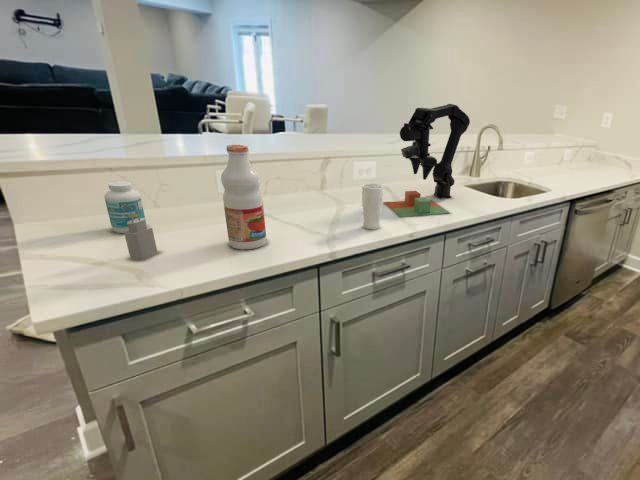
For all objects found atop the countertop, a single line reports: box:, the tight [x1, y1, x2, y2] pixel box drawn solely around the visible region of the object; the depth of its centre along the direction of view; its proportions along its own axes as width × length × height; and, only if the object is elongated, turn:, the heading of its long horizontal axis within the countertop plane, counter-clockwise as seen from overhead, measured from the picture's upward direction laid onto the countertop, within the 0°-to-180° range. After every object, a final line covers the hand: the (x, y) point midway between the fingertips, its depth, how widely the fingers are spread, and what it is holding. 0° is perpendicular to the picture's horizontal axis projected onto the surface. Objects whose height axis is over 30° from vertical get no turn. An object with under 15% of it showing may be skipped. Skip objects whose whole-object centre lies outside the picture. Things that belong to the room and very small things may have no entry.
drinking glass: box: [361, 183, 383, 230], centre depth 133 cm, size 7×7×15 cm
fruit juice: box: [220, 144, 267, 250], centre depth 106 cm, size 9×9×28 cm
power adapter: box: [123, 210, 159, 262], centre depth 95 cm, size 3×5×12 cm, turn 177°
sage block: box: [414, 197, 431, 213], centre depth 157 cm, size 5×5×5 cm
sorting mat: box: [384, 199, 451, 218], centre depth 162 cm, size 22×18×1 cm
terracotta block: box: [404, 190, 422, 206], centre depth 164 cm, size 5×5×5 cm
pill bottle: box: [104, 181, 147, 234], centre depth 107 cm, size 8×7×14 cm
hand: (419, 176), depth 166 cm, fingers open, 9 cm apart
